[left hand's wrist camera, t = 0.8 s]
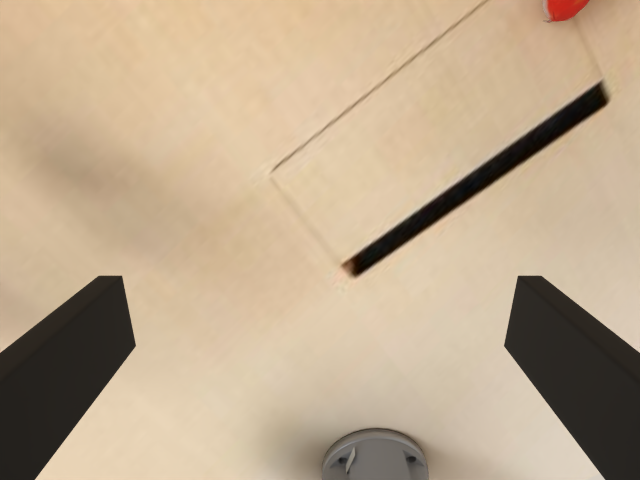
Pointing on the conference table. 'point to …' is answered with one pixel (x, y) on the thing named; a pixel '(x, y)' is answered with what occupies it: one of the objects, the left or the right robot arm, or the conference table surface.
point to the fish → (562, 9)
